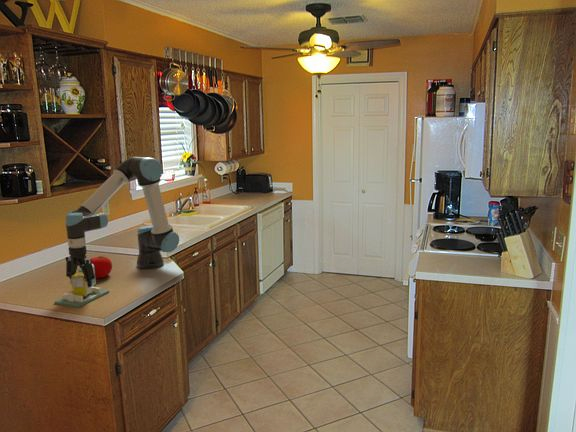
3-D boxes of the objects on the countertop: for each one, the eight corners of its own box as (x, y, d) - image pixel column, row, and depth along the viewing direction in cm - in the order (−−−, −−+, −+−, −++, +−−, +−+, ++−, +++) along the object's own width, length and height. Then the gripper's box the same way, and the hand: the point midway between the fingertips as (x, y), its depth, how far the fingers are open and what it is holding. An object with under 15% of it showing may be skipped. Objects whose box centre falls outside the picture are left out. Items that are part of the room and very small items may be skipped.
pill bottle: (80, 284, 242) (77, 259, 239) (95, 282, 245) (93, 257, 242) (80, 288, 235) (77, 263, 232) (95, 286, 238) (93, 261, 235)
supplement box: (90, 293, 227) (88, 271, 224) (86, 298, 221) (83, 276, 218) (78, 293, 226) (76, 271, 224) (73, 298, 221) (71, 276, 218)
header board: (86, 288, 235) (86, 280, 234) (109, 292, 230) (108, 283, 229) (54, 303, 217) (53, 294, 216) (77, 307, 212) (76, 298, 211)
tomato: (81, 278, 250) (79, 258, 248) (102, 271, 262) (100, 251, 260) (98, 282, 245) (96, 261, 242) (118, 274, 257) (116, 254, 254)
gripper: (53, 246, 219) (59, 292, 223) (88, 250, 211) (93, 297, 216) (66, 242, 225) (71, 286, 230) (100, 246, 218) (104, 292, 223)
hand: (82, 292), depth 223 cm, fingers open, 8 cm apart
